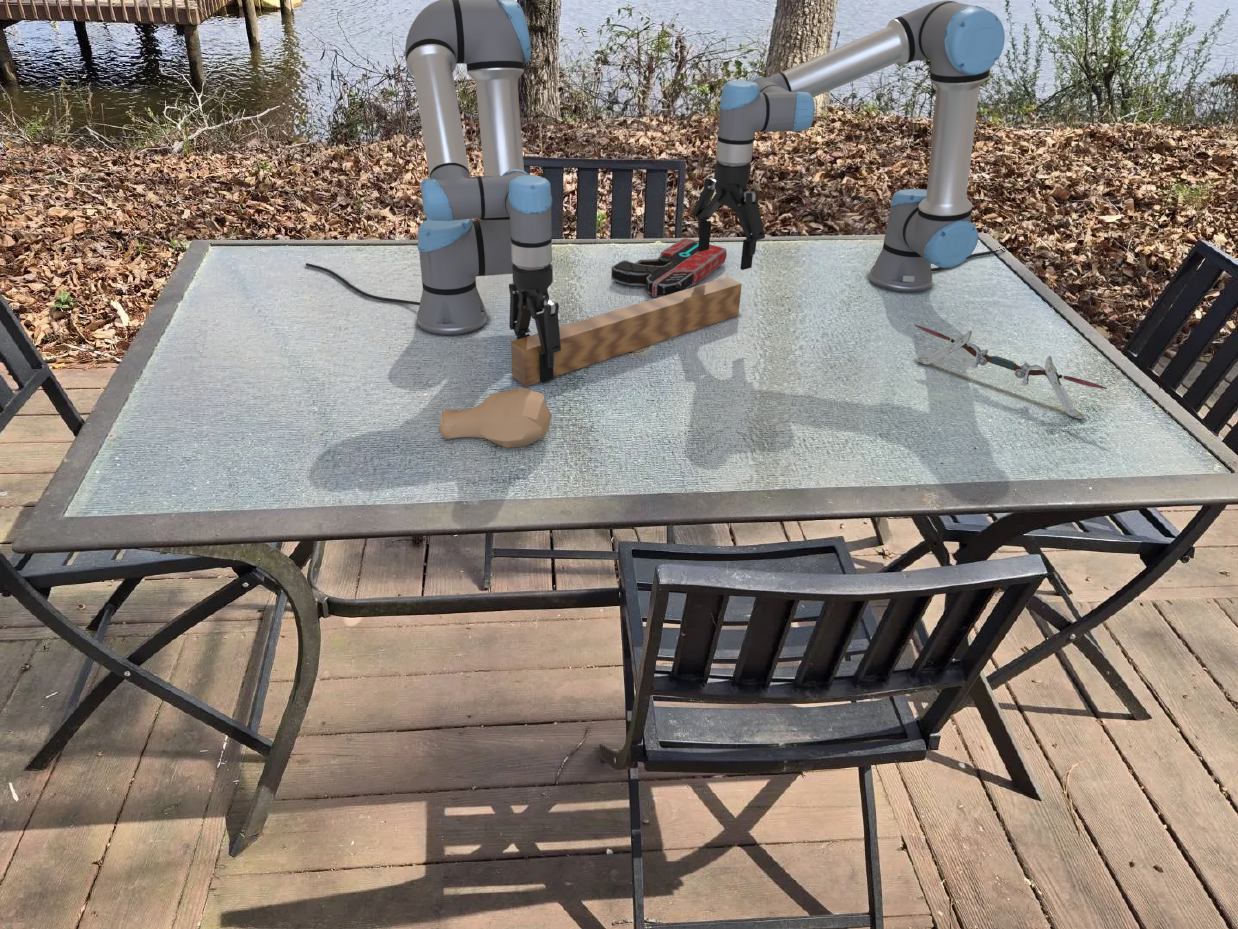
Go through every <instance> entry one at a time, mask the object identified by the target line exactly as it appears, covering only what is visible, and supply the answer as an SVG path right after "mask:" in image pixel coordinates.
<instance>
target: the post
mask: <svg viewBox="0 0 1238 929" xmlns="http://www.w3.org/2000/svg"><path fill="white" fill-rule="evenodd" d="M742 284H743V283H742V282H740V281H737V280H735V279H733V278H730V277H728V276H725V277H723V278H719V279H716V280H713V281H709V282H706V283H703V284H699V285H696V286H692V287H688V288H687V289H686V290H682V291H679V292H676V293H672V294H669V295H665V296H662V297H654V298H652V299H648V300H646V301H643V302H638V303H635V304H632V305H629V306H626V307H623V308H619V309H616V310H612V311H609V312H605V313H602V314H598V315H595V316H592V317H588V318H585V319H582V320H578V321H576V322H575V321H574V322H572V323H568V324H565V325H562V326H559V332H560V343H561V351H559V352H555V353H554V366H553V378H556V377H558V376H561V375H565V374H567V373H570V372H571V373H572V372H573V371H577V370H580V369H582V368H585V367H586V368H587V367H589V366H592V365H594V364H599V363H600V362H601V363H602V362H603V361H607V360H610V359H612V358H615V357H618V356H622V355H624V354H628V353H630V352H633V351H637V350H639V349H640V350H641V349H642V348H645V347H648V346H651V345H655V344H658V343H660V342H663V341H666V340H669V339H672V338H675V337H678V336H681V335H684V334H687V333H690V332H693V331H697V330H699V329H702V328H705V327H708V326H711V325H714V324H717V323H720V322H723V321H726V320H729V319H732V318H736V317H738V316H739V313H740V303H741V295H742V286H743V285H742ZM530 335H531V334H530ZM546 347H547V346H546ZM510 350H511V351H510V353H511V371H512V378H513V379H514V380H515V381H517V382H518V383H520V384H521V385H522V386H524V387H529V386H531V385H535V384H537V383H541V382H540V362H539V352H540V351H542V349H541V344H540V340H539V336H538V333H535V334H532V335H531V336H528V337H525V338H521V339H518V340H517V339H515V340H512V341H510Z"/></svg>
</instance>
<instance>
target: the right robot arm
mask: <svg viewBox="0 0 1238 929" xmlns="http://www.w3.org/2000/svg"><path fill="white" fill-rule="evenodd" d="M1005 36H1006V35H1005V29H1004V25H1003V23H1002V21H1001V19H1000V18H999V16H997V15H996V14H995V13H994V12H992V11H991V10H988V9H986V8H985V7H982V6H978V5H971V4H967V3H962V2H961V3H960V2H957V1H953V0H939V1H936V2H932V3H928V4H926V5H924V6H921V7H919V8H916V9H913V10H912V11H909V12H907V13H904V14H902V15H900V16H897V17H895V18H892V19H891V20H890V21H888V24H886V27H884V28H881V29H879V30H876V31H875V32H872V33H870V34H868V35H865V36H862V37H861V38H858V39H856V40H853V41H851V42H849V43H846V44H844V45H842V46H840V47H837V48H835V49H832V50H830V51H827V52H825V53H823V54H821V55H818V56H816V57H814V58H810V59H809V60H806V61H804V62H801V63H799V64H797V65H794V66H792V67H790V68H788V69H785V70H783V71H781V72H777V73H775V74H772V75H770V76H768V77H765V76H754V77H752V78H750V79H748V80H731V81H730V80H729V81H727V82H726V83H724V84H723V86H722V89H721V93H720V94H721V95H720V102H719V115H718V130H717V131H718V132H717V141H716V152H715V159H716V162H715V164H714V174H713V177H707V178H705V180H704V185H703V189H702V191H701V193H700V195H699V197H698V200H697V201H696V204H695V206H694V208H693V210H692V212H691V214H692V217H693V218H694V217H695V218H696V219H697V222H698V224H697V226H698V227H697V235H698V243H699V245H698V251H700V252H701V251H705V250H709V244H710V242H711V231H712V230H711V229H712V221H711V217H712V216H713V215H714V213H715V212H716V211H717V210H718V209H719V208H720V207H721V206H726V207H727V208H729V209H732V211H733V213H734V214H736V217H737V219H738V221H739V224H740V226H741V229H742V231H743V234H744V236H745V239H743V240H742V249H741V250H742V251H741V259H740V270H741V271H744V270H748V269H751V268H752V267H753V257H754V255H756V249H757V242H758V241H760V240H763V239H765V238H766V233H765V228H764V224H763V220H762V215H761V210H760V205H759V192H758V191H757V190H754V191H748V188H747V185H748V183H749V182H750V180H751V172H752V164H751V162H752V158H753V151H754V142H755V135H756V133H765V132H766V133H768V132H769V133H771V132H772V133H773V132H775V133H776V132H777V133H780V132H781V133H782V132H792V133H795V132H801V131H806V130H809V129H810V128H811V126H812V124H813V122H814V119H815V112H816V103H815V99H814V98H815V97H818V96H821V95H823V94H825V93H828V92H830V91H832V90H835V89H837V88H839V87H842V86H845V85H847V84H849V83H851V82H854V81H857V80H858V79H862V78H863V77H866V76H868V75H871V74H873V73H876V72H878V71H880V70H883V69H885V68H887V67H890V66H892V65H894V64H897V65H898V66H906V65H907V64H909V63H913V62H917V61H931V62H930V72H929V81H930V82H931V83H932V84H933V85H934V86H935V89H936V90H935V100H934V109H933V110H934V111H933V122H932V132H931V143H930V154H929V164H928V175H927V184H926V188H925V189H922V188H906V189H900V190H897V191H895V193H894V194H893V196H892V198H891V203H890V205H889V207H890V208H889V212H888V218H887V223H886V228H885V234H884V239H883V244H882V249H881V251H880V253H879V254H878V256H877V258H876V261H875V262H874V265H872V267H871V269H870V272H869V276H868V277H869V281H870V282H871V283H872V284H873V285H874V286H877V287H878V288H881V289H883V290H887V291H889V292H890V291H891V292H896V293H904V294H905V293H906V294H915V293H921V292H925V291H928V290H929V289H930V288H931V287H932V284H933V283H932V282H933V273H932V272H938V271H943V270H947V269H950V268H953V267H957V266H958V265H960V264H962V263H964V262H965V261H966V260H969V259H972V258H976V257H982V256H988V255H993V254H995V253H997V252H998V251H1002V252H1003V253H1005V252H1006V249H1005V247H1003V249H1004V250H1005V251H1003V250H1002V249H1000V250H996V251H992V250H989V251H983V252H975V253H974V251H975V249H976V248H977V246H978V242H979V231H978V228H977V227H976V225H975V224H974V223H973V222H971V221H972V214H973V213H972V212H973V202H971V201H970V199H968V196H967V195H968V187H969V180H970V172H971V164H972V156H973V155H972V154H973V147H974V138H975V129H976V122H977V112H978V104H979V96H980V89H981V85H982V84H983V83H984V82H986V81H987V80H988V79H989V78H990V72H991V71H990V70H991V68H992V67H994V65H995V64H996V63H995V62H996V61H997V60H999V59H1000V57H1001V55H1002V53H1003V51H1004V47H1005V42H1006V41H1005V40H1006V38H1005ZM715 192H716V193H715ZM714 193H715V194H714ZM998 247H999V248H1000V247H1001V246H998ZM932 265H934V266H935V267H932Z"/></svg>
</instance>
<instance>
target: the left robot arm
mask: <svg viewBox="0 0 1238 929" xmlns="http://www.w3.org/2000/svg"><path fill="white" fill-rule="evenodd" d="M530 37H531V36H530V32H529V27H528V23H527V19H526V16H525V13H524V10H523V8H522V6H521V5H520V3H518V2H517V1H516V0H435V1H433V2H431V3H430V4H428V5H427V6H425V7H424V8H422V10H420V12H419V13H418V14H417V16H416V17H415V18H414V20H413V22H412V24H411V26H410V28H409V30H408V33H407V36H406V41H405V47H404V52H405V53H404V55H405V61H406V62H405V63H406V68H407V70H408V72H409V73H410V75H411V76H412V77H413V79H414V80H413V81H414V86H415V93H416V99H417V106H418V112H419V118H420V125H421V131H422V138H423V144H424V150H425V151H424V152H425V158H426V163H427V164H426V165H427V170H428V177H429V178H425V179H423V180H421V182H420V193H421V201H422V209H423V215H424V217H425V218H426V220H424V221H423V222H421V224H419V226H418V227H417V228H418V229H417V247H416V248H417V251H418V252H419V253H418V254H419V263H420V275H421V284H422V292H421V297H420V301H413V300H405V299H399V298H391V297H383V296H378V295H373V294H370V293H367V292H365V291H362V290H361V289H360V288H358V287H356V286H354V285H352V284H351V283H350V282H348V281H347V280H346V279H345V278H343V277H342V276H341V275H339V274H337V273H336V272H334V271H332V269H328V268H326V267H323V266H320V265H316V264H312V263H308V262H306V263H305V266H306V267H309V268H313V269H317V270H319V271H324V272H326V273H328V274H330V275H332V276H333V277H335V278H337V279H338V280H339V281H341V282H343V283H344V284H345V285H346V286H348V287H349V288H350V289H352V290H353V291H355V292H357V293H359V294H360V295H362V296H365V297H367V298H370V299H374V300H378V301H383V302H390V303H398V304H400V303H401V304H407V305H412V306H413V305H414V306H418V310H417V315H416V318H417V325H418V326H419V328H420V329H421V330H423V331H424V332H427V333H430V334H433V335H440V336H459V335H465V334H469V333H473V332H476V331H477V330H480V329H481V328H483V327H484V326H485V325H486V323H487V320H488V316H487V310H486V306H485V304H484V302H483V299H482V298H481V295H480V293H479V291H478V288H477V278H476V277H488V276H489V277H490V276H502V275H512V283H509V284H508V290H509V294H510V295H509V326H508V327H509V329H510V330H511V331H514V333H513V334H514V336H516V340H518V339H521V338H525V337H528V336H531V334H530V333H531V332H532V330H531V329H530V324H531V320H532V319H533V320H534V322H535V326H536V331H537V334H538V336H539V340H540V344H541V349H542V351H540V352H539V362H540V382H539V383H542V384H543V383H546V382H547V383H548V382H549V381H552V380H554V377H553V366H554V353H555V352H559V351H561V343H560V332H559V327H560V323H559V322H560V321H559V309H560V305H559V302H557V301H555V302H553V301H551V299H550V294H549V290H548V289H549V287H550V286H551V285H552V284H553V282H554V281H553V280H554V273H553V270H554V269H553V264H552V262H553V246H552V245H553V242H552V241H553V235H552V232H553V229H552V228H553V226H552V205H553V196H552V189H551V182H550V181H549V180H548V179H547V178H545V177H542V176H539V175H536V174H535V175H534V174H531V175H530V173H528V172H526V171H525V165H524V164H525V163H524V150H523V136H522V126H521V125H522V124H521V111H520V98H519V86H518V81H519V79H520V78H521V76H522V75H523V74H524V72H525V68H524V66H525V65H524V64H527V63H529V62H530V60H531V55H532V51H531V38H530ZM459 64H460V65H461V64H462V65H463V64H464V65H466V74H467V76H468V77H470V78H471V79H472V80H473V81H474V83H475V90H476V101H477V113H478V124H479V135H480V145H481V146H480V147H481V155H482V158H481V159H482V168H483V176H471V174H470V167H469V161H468V156H467V149H466V143H465V138H464V131H463V126H462V120H461V114H460V108H459V102H458V95H457V89H456V85H455V84H456V83H455V77H454V72H455V70H456V68H457V65H459ZM475 219H480V220H475ZM546 346H547V347H546Z"/></svg>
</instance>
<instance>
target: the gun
mask: <svg viewBox="0 0 1238 929" xmlns="http://www.w3.org/2000/svg"><path fill="white" fill-rule="evenodd" d="M698 245H699V242H698V241H695V239H692V238H687V237H686V238H682V239H680V240H678V241H677V242H675V243H673V244H672V245H669V247H666V248H665V249H663V250H661V252H660V254H659V256H658V258H652V259H651V258H649V259H639V260H636V262H631V261H629V260H626V259H623V260H621V261H620V262H617V263H616V264H613V265H612V266H611V276H610V279H611V280H612V281H614V282H616V283H619V284H623V285H627V286H637V287H640V286H641V287H642V286H643V287H645V291H646V292H647V294H648V295H651V297H654V298H659V297H662V296H665V295H669V294H672V293H676V292H679V291H682V290H686V289H689V288H691V286H695V285H696V284H698V283H699V282H701V281H702V280H704V279H705V278H707V277H708V276H709V275H710V274H712V273H714V271H716V270H717V269H718V268H720V267H721V266H722V265H723V264H724V263H726V259H727V256H728V254H727V248H725V247H722V246H718V245H713V244H710V243H709V250H705V251H701V252H700V251H698Z"/></svg>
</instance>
